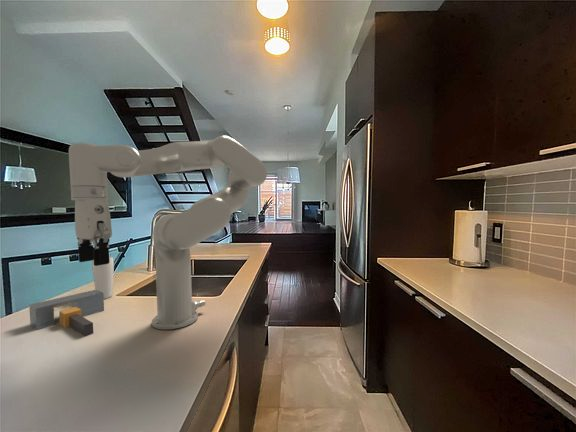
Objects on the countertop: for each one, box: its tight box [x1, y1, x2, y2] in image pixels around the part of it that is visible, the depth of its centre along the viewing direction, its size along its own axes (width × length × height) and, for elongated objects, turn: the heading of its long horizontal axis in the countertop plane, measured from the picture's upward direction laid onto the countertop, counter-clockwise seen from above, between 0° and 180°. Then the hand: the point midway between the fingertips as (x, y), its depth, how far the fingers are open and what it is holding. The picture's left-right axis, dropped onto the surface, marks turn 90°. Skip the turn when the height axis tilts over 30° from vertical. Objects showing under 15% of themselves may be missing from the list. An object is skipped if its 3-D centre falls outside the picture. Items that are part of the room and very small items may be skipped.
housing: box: [28, 289, 105, 331], centre depth 86 cm, size 17×6×6 cm, turn 145°
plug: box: [58, 307, 94, 337], centre depth 79 cm, size 4×17×4 cm, turn 55°
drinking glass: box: [91, 256, 115, 300], centre depth 105 cm, size 7×7×15 cm
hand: (93, 262), depth 70 cm, fingers open, 8 cm apart
